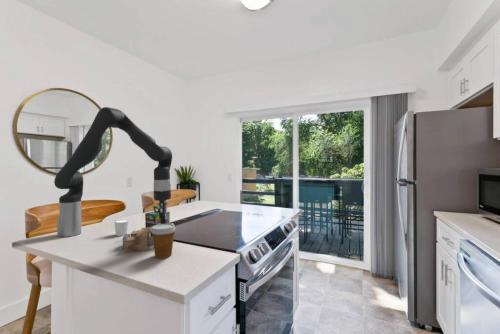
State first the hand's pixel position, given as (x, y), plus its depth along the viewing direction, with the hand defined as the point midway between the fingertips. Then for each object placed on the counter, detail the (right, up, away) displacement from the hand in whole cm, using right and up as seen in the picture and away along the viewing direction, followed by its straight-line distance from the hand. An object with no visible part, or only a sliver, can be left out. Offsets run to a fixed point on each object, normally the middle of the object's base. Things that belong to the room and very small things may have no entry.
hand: (163, 226), depth 110 cm
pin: (-10, -8, -2) cm, 13 cm away
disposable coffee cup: (+5, -9, -14) cm, 17 cm away
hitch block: (-10, -8, -3) cm, 13 cm away
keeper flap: (-1, -1, 0) cm, 1 cm away
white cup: (-27, -8, +15) cm, 32 cm away
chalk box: (-9, -8, +16) cm, 20 cm away
